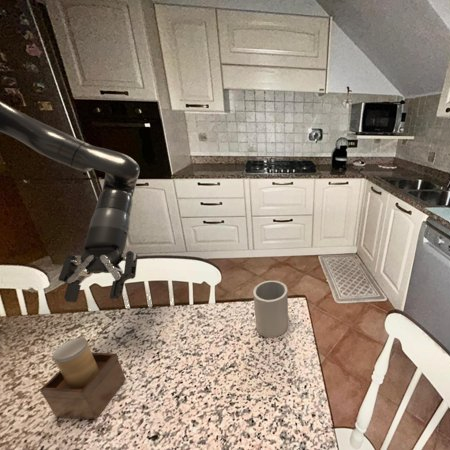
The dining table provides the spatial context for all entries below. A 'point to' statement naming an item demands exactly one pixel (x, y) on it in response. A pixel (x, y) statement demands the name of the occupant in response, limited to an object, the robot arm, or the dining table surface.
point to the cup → (271, 308)
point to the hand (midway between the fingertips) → (92, 300)
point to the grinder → (76, 362)
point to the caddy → (85, 390)
